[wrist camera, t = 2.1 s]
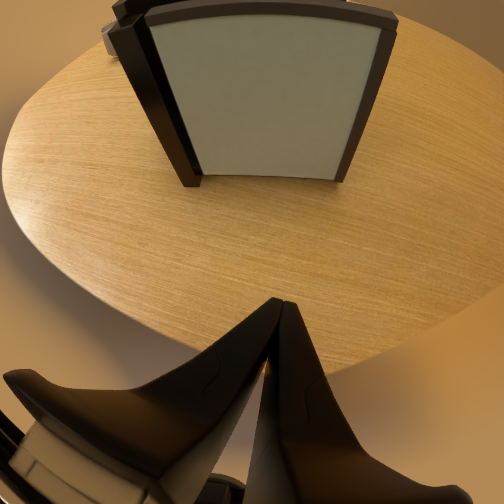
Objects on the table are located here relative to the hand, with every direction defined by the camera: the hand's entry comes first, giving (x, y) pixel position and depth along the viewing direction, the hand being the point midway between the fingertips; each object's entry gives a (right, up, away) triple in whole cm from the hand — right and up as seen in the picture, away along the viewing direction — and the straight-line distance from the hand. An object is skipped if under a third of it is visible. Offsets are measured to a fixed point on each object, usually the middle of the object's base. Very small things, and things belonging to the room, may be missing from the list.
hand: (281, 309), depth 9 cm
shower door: (+1, +9, +14) cm, 17 cm away
